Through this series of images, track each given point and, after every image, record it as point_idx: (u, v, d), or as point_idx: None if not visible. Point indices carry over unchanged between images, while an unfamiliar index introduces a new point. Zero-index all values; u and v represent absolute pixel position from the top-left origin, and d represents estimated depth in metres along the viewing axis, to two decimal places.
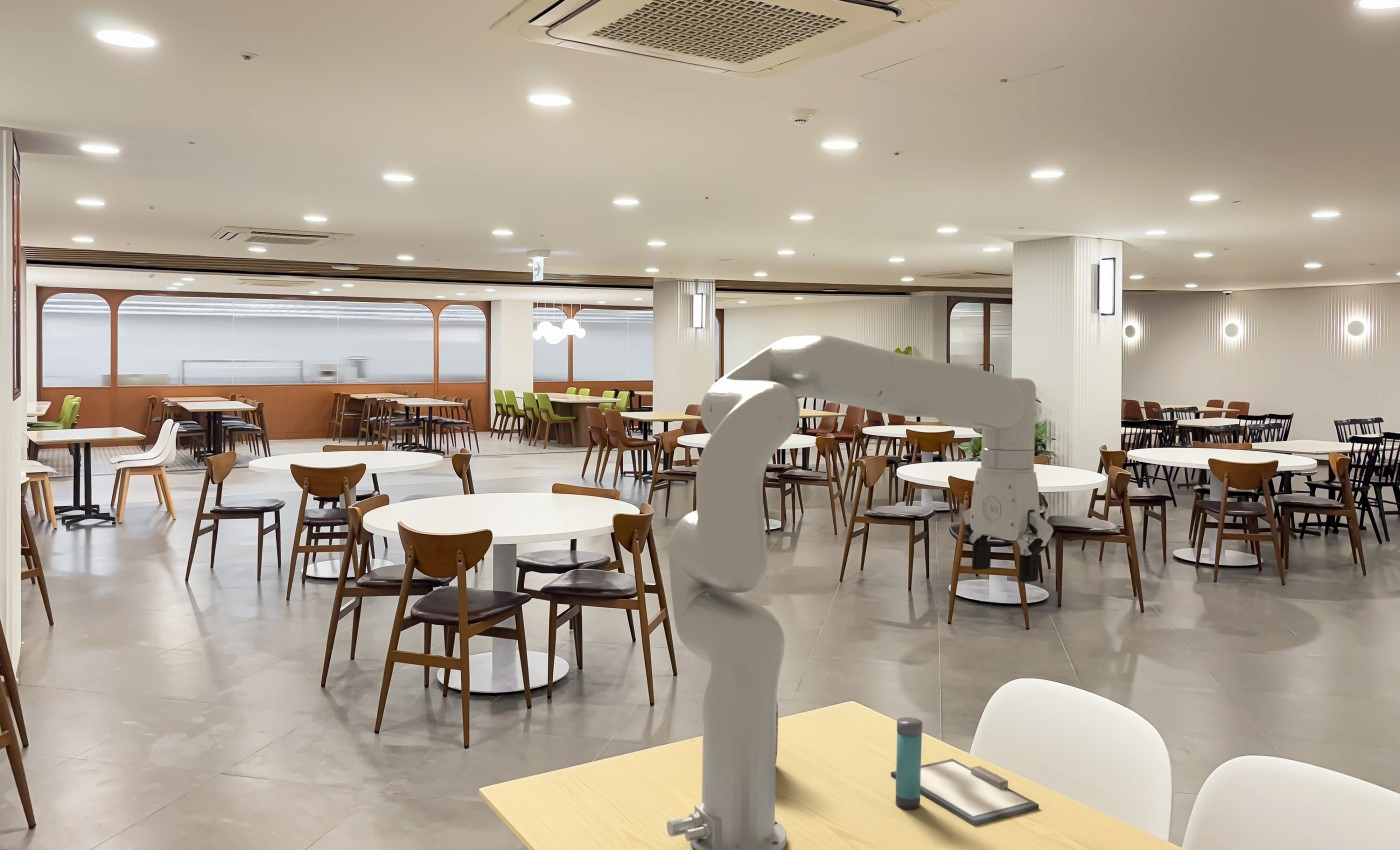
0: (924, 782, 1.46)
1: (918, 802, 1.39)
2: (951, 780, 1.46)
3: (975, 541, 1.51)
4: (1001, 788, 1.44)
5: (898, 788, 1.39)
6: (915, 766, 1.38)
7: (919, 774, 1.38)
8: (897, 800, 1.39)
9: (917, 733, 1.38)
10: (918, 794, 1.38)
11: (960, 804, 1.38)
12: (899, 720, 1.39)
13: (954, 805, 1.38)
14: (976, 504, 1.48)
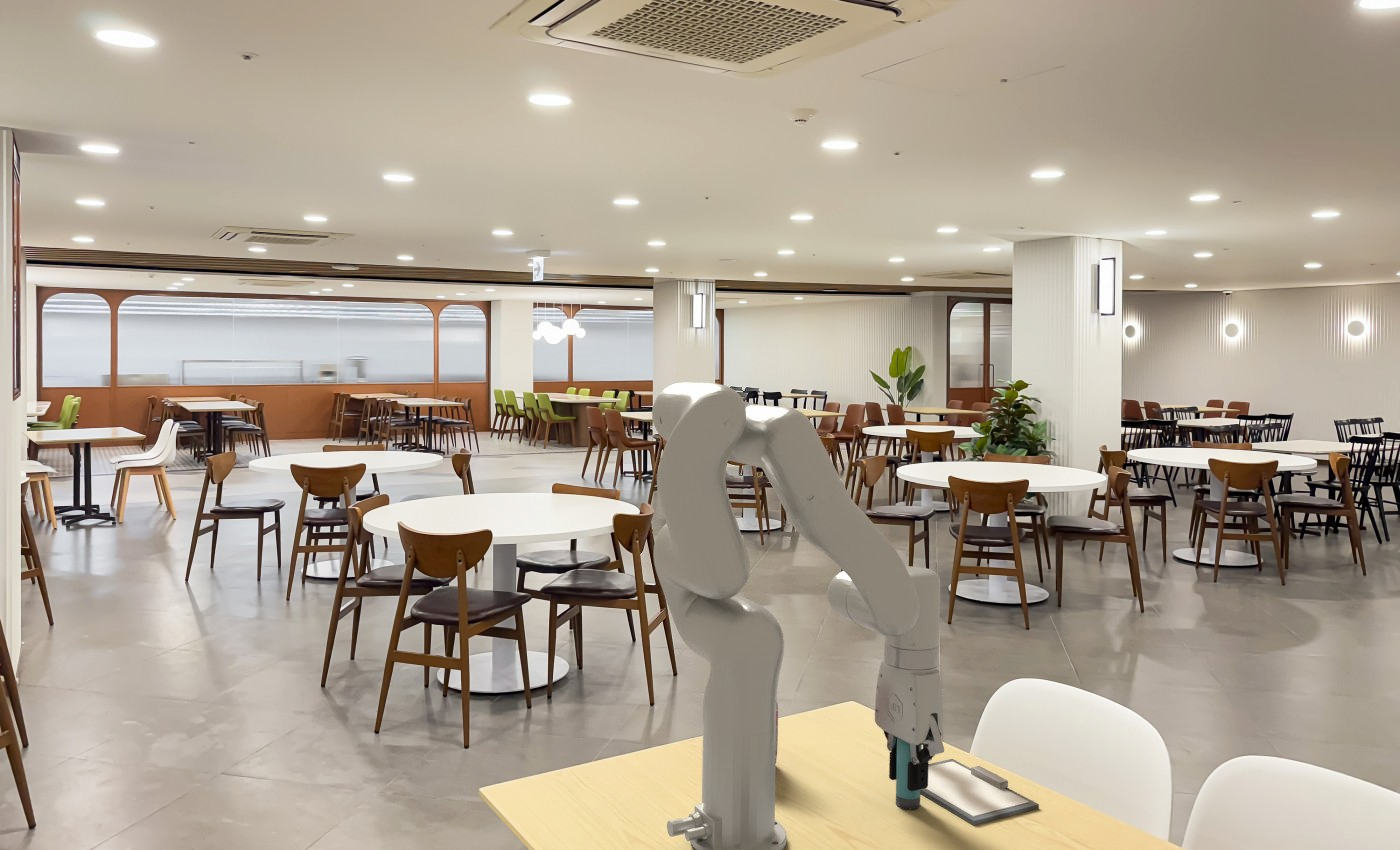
0: None
1: (918, 802, 1.39)
2: (951, 780, 1.46)
3: (893, 747, 1.41)
4: (1001, 788, 1.44)
5: (898, 788, 1.39)
6: None
7: None
8: (897, 800, 1.39)
9: None
10: (918, 794, 1.38)
11: (960, 804, 1.38)
12: None
13: (954, 805, 1.38)
14: (879, 698, 1.41)
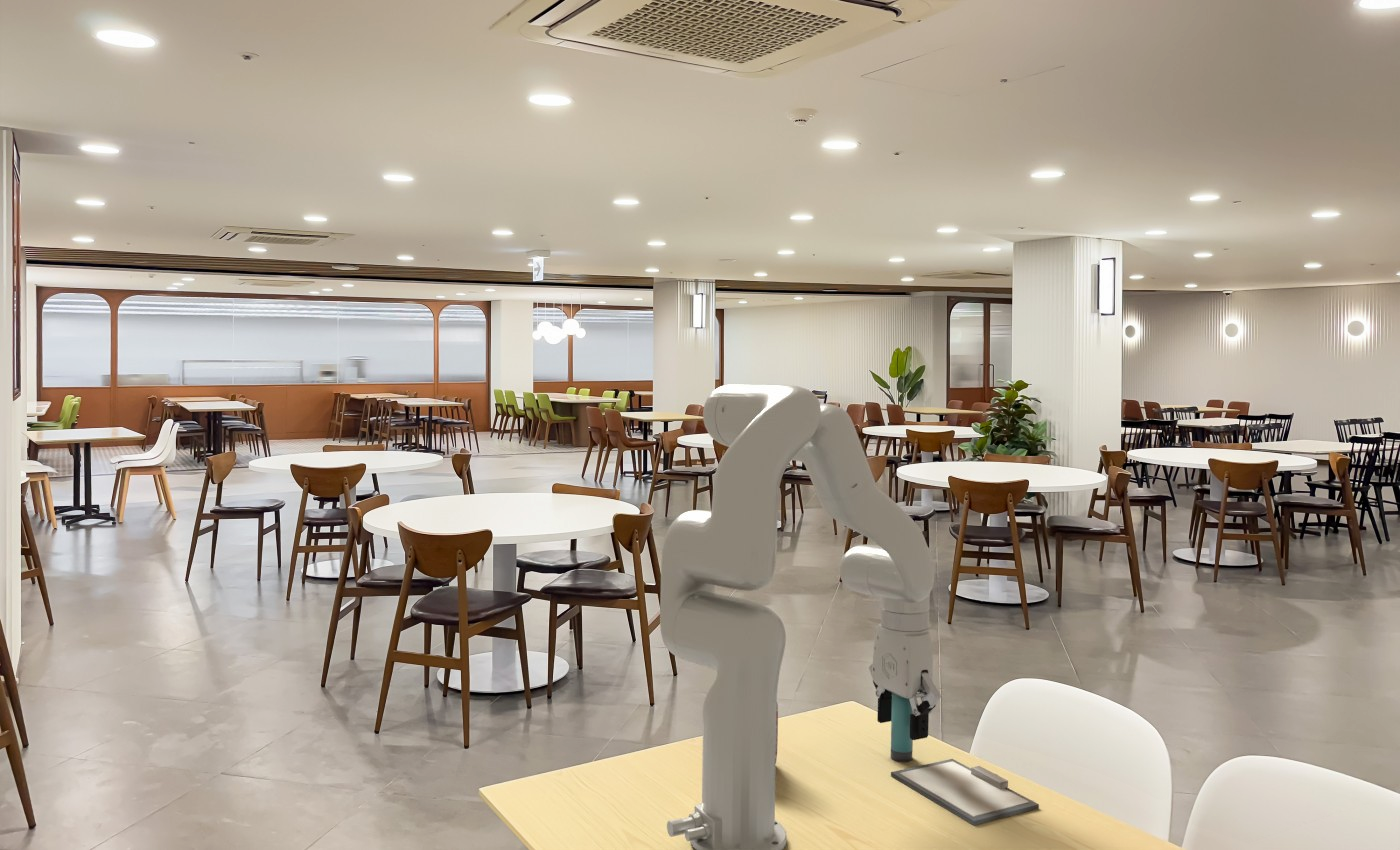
0: (924, 782, 1.46)
1: (911, 755, 1.56)
2: (951, 780, 1.46)
3: (880, 695, 1.59)
4: (1001, 788, 1.44)
5: (894, 744, 1.55)
6: (909, 722, 1.55)
7: None
8: (893, 754, 1.56)
9: None
10: (911, 748, 1.55)
11: (960, 804, 1.38)
12: None
13: (954, 805, 1.38)
14: (876, 658, 1.58)
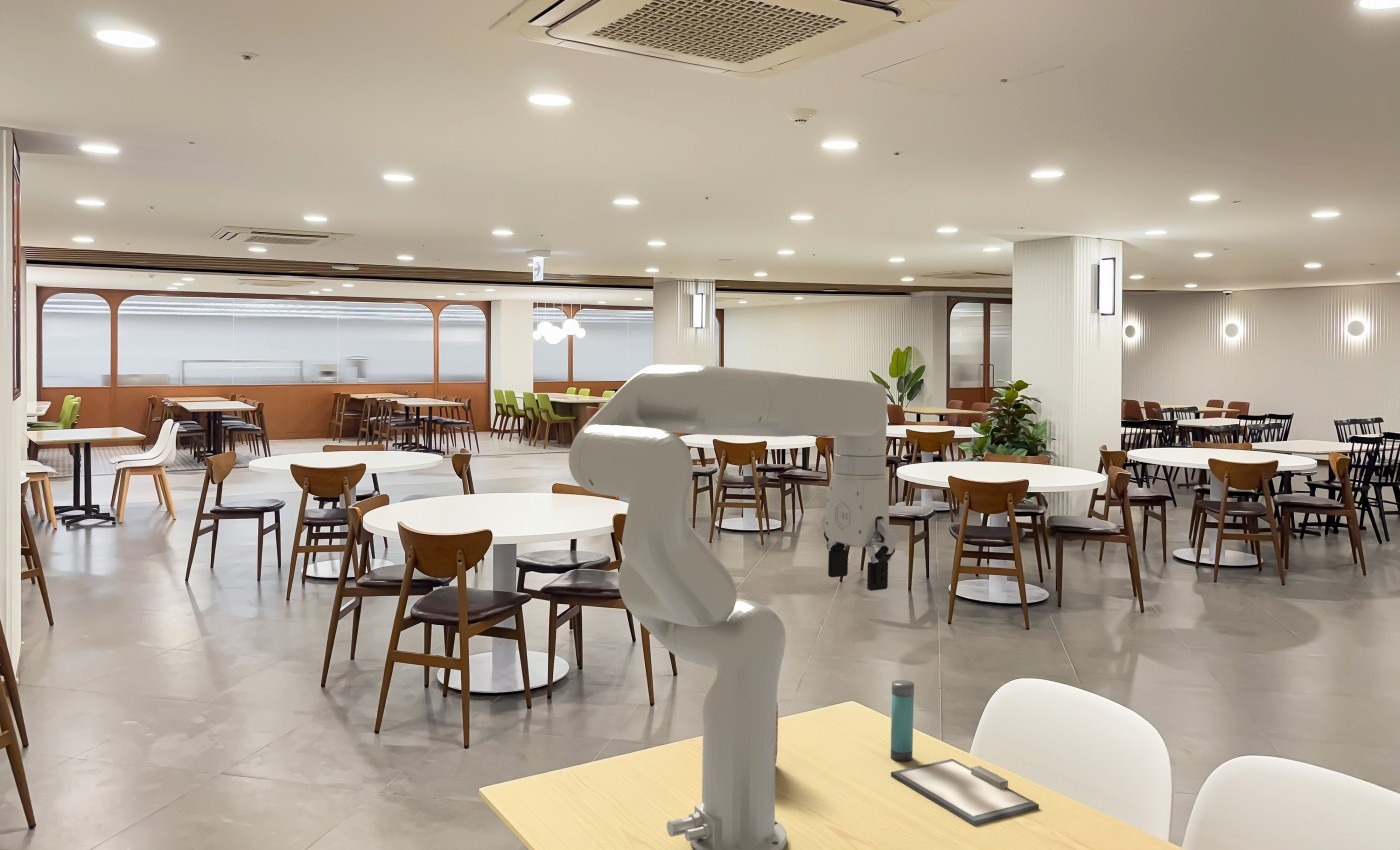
0: (924, 782, 1.46)
1: (911, 754, 1.56)
2: (951, 780, 1.46)
3: (831, 548, 1.48)
4: (1001, 788, 1.44)
5: (894, 744, 1.55)
6: (909, 722, 1.55)
7: (912, 729, 1.56)
8: (893, 754, 1.56)
9: (911, 693, 1.55)
10: (911, 748, 1.55)
11: (960, 804, 1.38)
12: (893, 683, 1.56)
13: (954, 805, 1.38)
14: (829, 511, 1.46)
